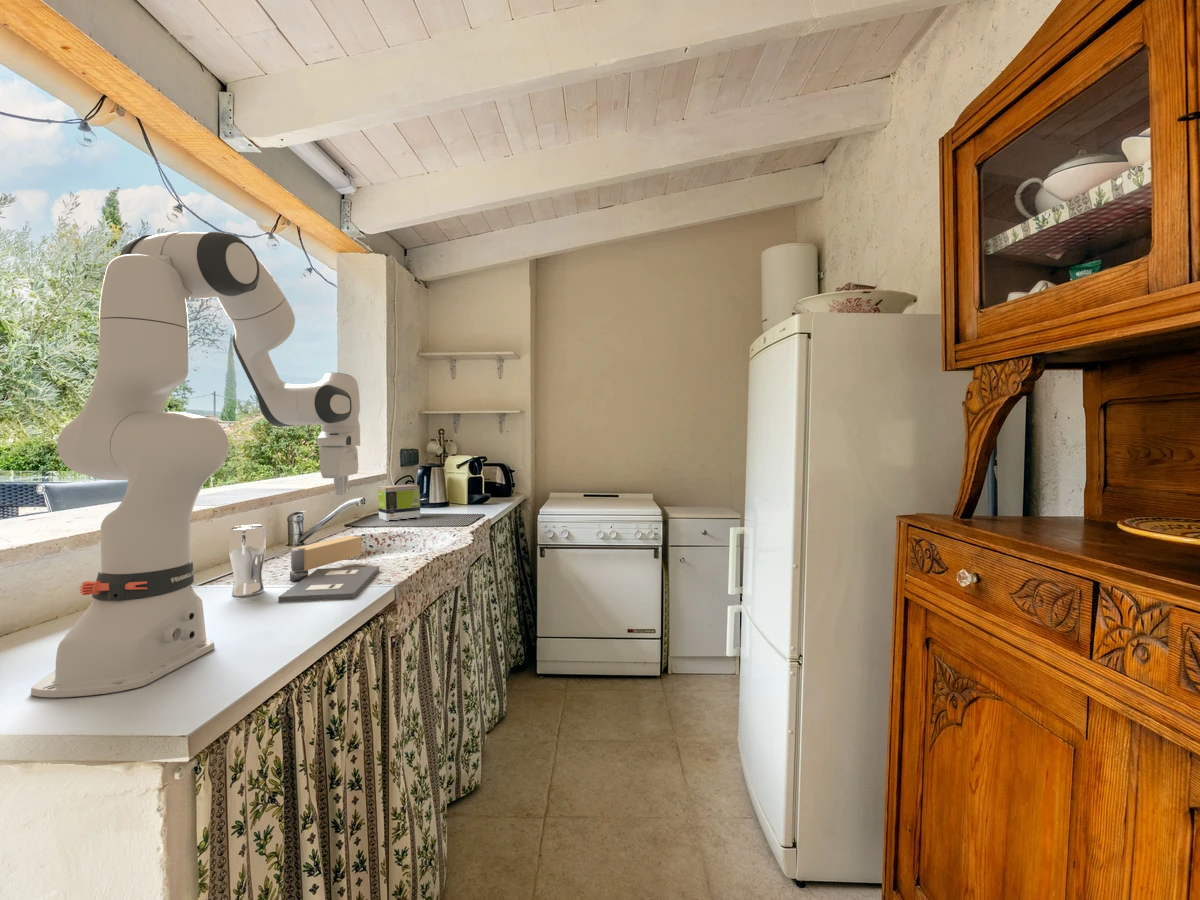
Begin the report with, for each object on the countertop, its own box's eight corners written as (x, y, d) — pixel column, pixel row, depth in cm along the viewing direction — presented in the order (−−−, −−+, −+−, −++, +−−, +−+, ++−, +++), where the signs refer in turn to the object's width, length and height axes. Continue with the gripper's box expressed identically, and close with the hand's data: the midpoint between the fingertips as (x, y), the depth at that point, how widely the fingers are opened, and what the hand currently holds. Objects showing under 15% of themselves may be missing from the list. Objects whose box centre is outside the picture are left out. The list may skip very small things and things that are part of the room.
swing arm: (361, 554, 154) (361, 536, 154) (301, 571, 134) (301, 551, 134) (346, 553, 155) (346, 536, 155) (285, 570, 136) (285, 550, 136)
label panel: (353, 598, 120) (353, 591, 120) (278, 602, 117) (278, 595, 117) (378, 570, 146) (378, 565, 146) (317, 573, 143) (317, 567, 143)
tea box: (412, 516, 250) (412, 483, 249) (420, 518, 242) (420, 485, 242) (378, 519, 240) (377, 485, 240) (385, 522, 232) (385, 487, 232)
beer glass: (248, 598, 120) (247, 529, 120) (221, 596, 122) (220, 528, 122) (273, 589, 127) (272, 525, 127) (247, 588, 129) (247, 524, 128)
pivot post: (305, 581, 135) (305, 573, 135) (287, 581, 134) (287, 573, 134) (310, 577, 139) (310, 569, 139) (293, 577, 138) (293, 570, 138)
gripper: (339, 439, 147) (339, 491, 148) (314, 438, 127) (314, 498, 128) (364, 439, 149) (364, 490, 149) (343, 438, 128) (343, 498, 129)
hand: (341, 494), depth 138 cm, fingers closed
